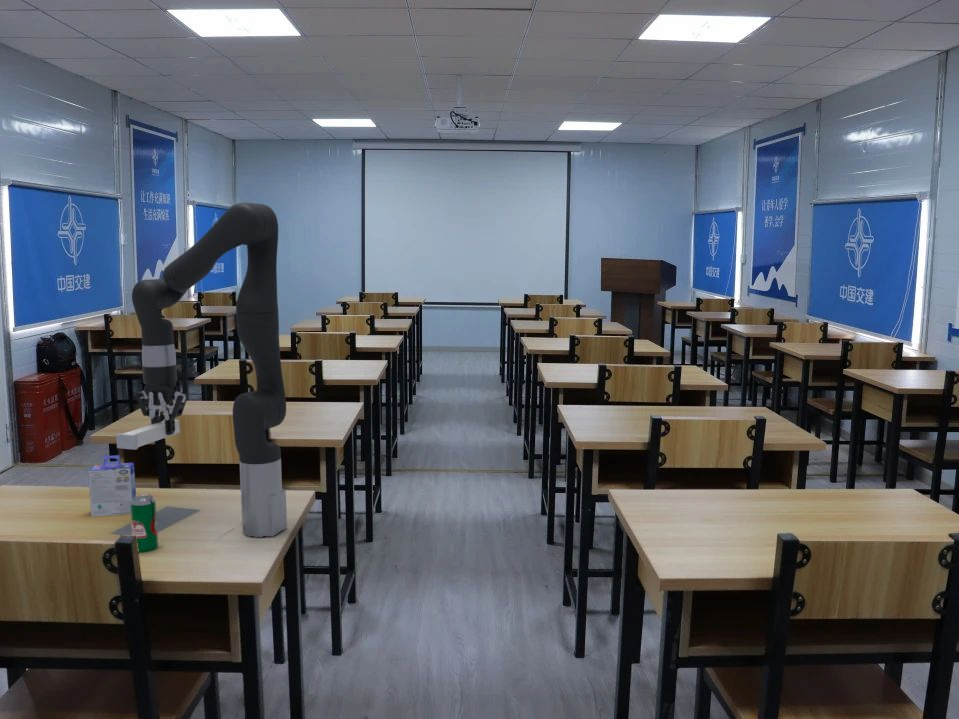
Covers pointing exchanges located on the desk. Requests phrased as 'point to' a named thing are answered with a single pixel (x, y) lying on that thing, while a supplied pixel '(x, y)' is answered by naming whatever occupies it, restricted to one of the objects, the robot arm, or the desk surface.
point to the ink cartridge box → (111, 487)
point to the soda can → (144, 522)
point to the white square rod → (144, 435)
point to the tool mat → (162, 519)
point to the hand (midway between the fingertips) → (163, 433)
